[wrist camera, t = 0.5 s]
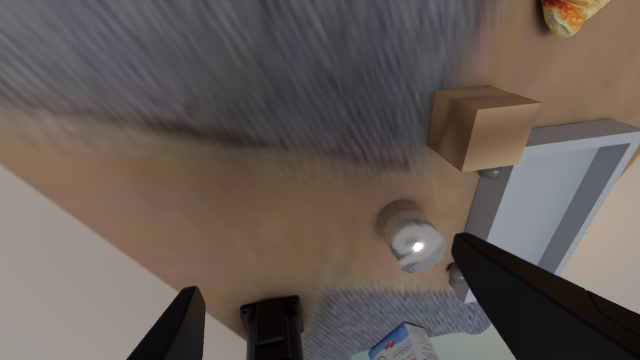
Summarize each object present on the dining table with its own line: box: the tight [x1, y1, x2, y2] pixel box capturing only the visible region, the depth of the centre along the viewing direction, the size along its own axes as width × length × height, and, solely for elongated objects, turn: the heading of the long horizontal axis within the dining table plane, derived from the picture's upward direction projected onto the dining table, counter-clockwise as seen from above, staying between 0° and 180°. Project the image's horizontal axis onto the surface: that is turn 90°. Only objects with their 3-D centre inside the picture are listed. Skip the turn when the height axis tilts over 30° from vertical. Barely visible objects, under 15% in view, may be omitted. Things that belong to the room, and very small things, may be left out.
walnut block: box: [427, 85, 541, 172], centre depth 21 cm, size 4×4×5 cm
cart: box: [449, 119, 640, 304], centre depth 29 cm, size 20×14×3 cm
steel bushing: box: [377, 200, 447, 273], centre depth 26 cm, size 4×4×5 cm
